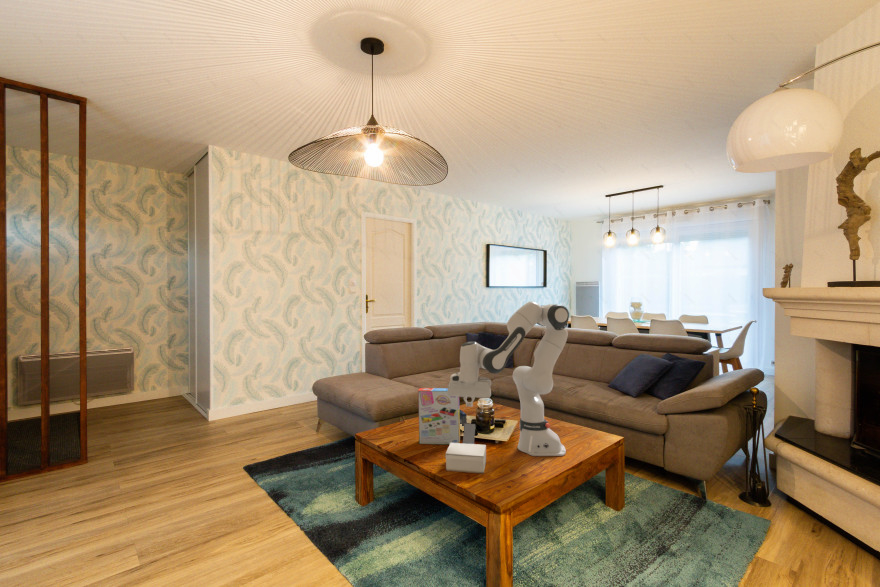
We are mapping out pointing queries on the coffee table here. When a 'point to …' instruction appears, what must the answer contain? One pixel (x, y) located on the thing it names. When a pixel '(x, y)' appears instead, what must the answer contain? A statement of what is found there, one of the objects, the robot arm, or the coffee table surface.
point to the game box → (438, 416)
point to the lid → (466, 447)
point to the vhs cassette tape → (462, 417)
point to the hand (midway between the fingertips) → (469, 406)
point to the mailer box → (466, 465)
